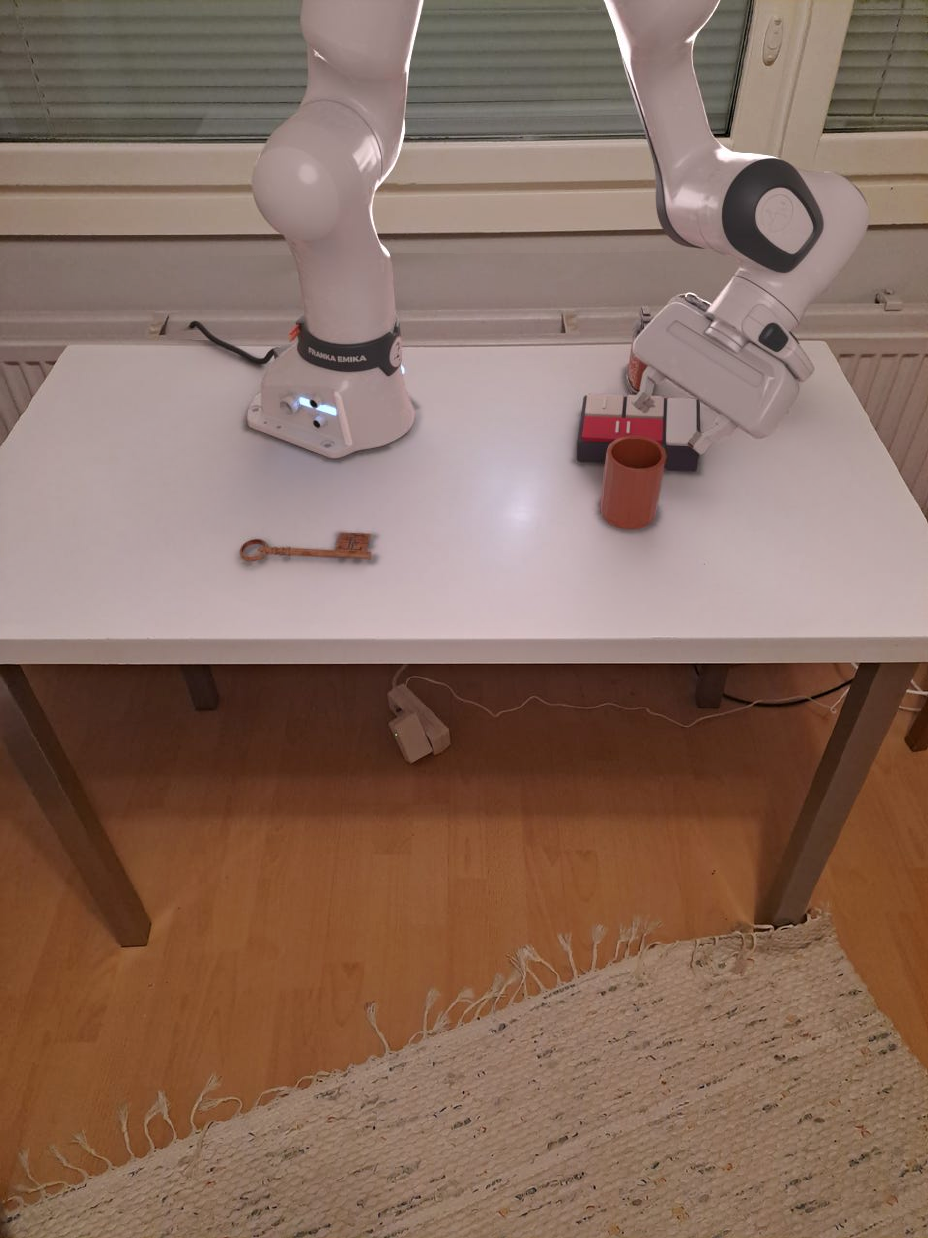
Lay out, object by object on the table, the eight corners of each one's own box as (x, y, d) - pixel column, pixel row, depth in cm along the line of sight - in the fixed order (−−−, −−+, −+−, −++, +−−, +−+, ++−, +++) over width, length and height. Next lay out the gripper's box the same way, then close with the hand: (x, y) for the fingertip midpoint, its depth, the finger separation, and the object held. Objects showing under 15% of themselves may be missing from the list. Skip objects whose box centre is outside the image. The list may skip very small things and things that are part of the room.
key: (375, 538, 107) (249, 532, 107) (375, 532, 106) (248, 525, 107) (368, 569, 102) (236, 562, 103) (367, 563, 102) (235, 556, 102)
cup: (593, 522, 108) (600, 464, 102) (607, 489, 112) (615, 431, 106) (649, 534, 106) (659, 476, 100) (660, 500, 110) (671, 442, 104)
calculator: (584, 389, 120) (700, 393, 118) (583, 417, 124) (696, 421, 121) (577, 438, 113) (701, 443, 111) (576, 466, 116) (697, 472, 114)
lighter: (654, 398, 125) (665, 331, 118) (629, 398, 125) (638, 331, 118) (646, 366, 131) (656, 300, 124) (623, 366, 131) (631, 301, 124)
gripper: (670, 272, 103) (593, 375, 107) (808, 352, 91) (716, 464, 95) (693, 299, 108) (619, 396, 111) (826, 377, 96) (739, 484, 100)
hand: (665, 428), depth 103 cm, fingers open, 8 cm apart
